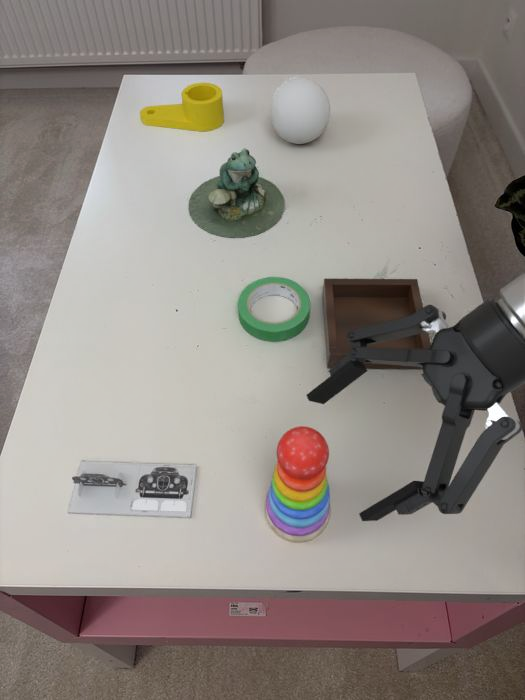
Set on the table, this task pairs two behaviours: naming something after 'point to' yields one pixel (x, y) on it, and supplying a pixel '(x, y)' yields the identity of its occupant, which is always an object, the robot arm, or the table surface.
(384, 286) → the square tray
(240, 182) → the frog figurine
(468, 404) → the robot arm
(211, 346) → the table surface
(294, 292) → the tape roll
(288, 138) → the decorative ball
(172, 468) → the car cutout
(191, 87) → the crank
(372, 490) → the table surface
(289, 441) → the stacking toy
